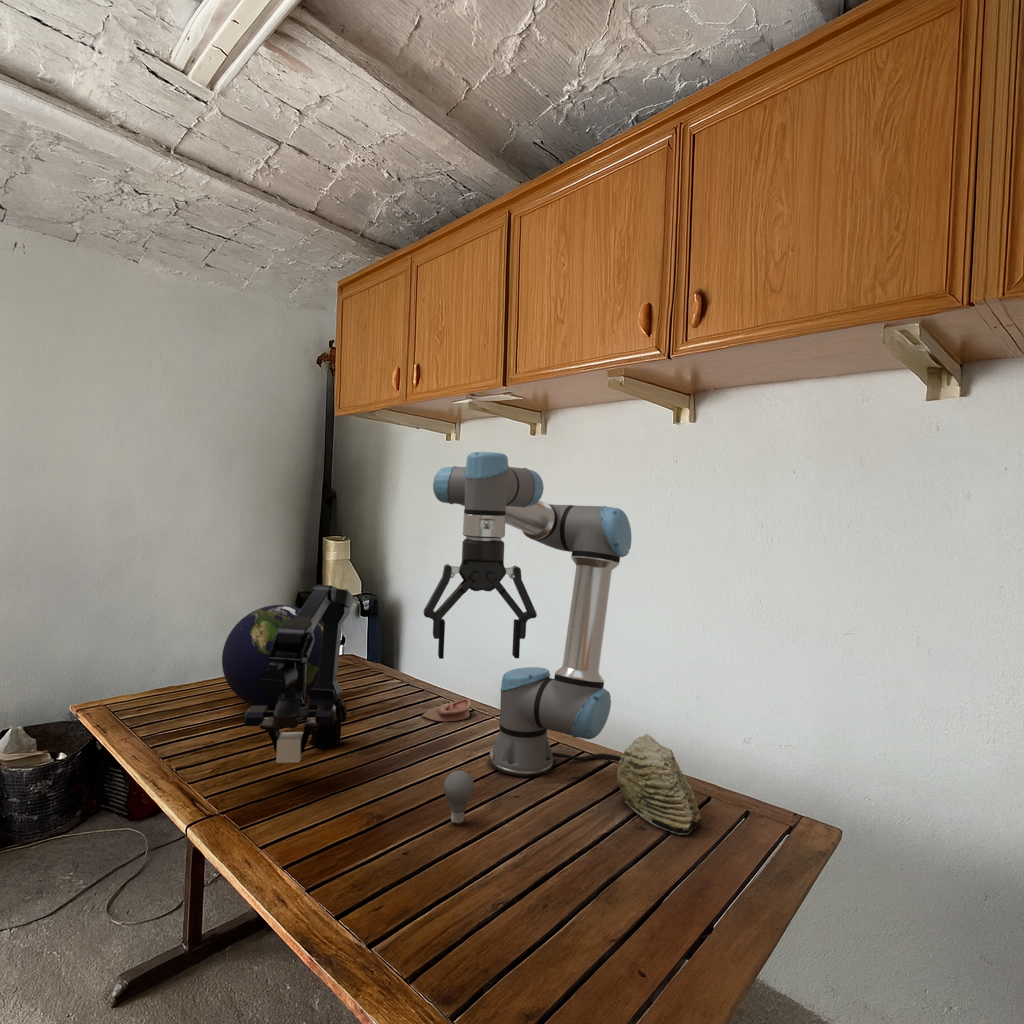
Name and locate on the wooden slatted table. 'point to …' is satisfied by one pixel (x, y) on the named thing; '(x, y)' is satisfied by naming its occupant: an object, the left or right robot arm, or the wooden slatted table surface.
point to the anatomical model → (450, 711)
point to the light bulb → (458, 793)
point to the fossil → (657, 786)
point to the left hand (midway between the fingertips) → (289, 753)
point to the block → (289, 747)
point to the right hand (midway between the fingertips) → (478, 656)
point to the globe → (262, 653)
